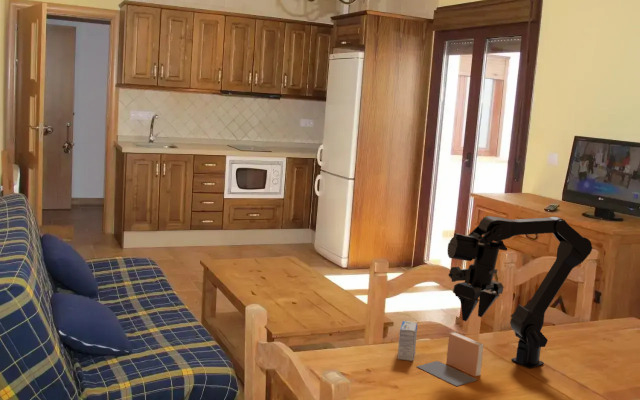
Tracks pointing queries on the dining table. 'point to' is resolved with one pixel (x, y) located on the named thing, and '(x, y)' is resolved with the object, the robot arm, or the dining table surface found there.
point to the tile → (465, 354)
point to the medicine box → (407, 340)
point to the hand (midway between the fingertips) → (472, 318)
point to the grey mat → (447, 373)
